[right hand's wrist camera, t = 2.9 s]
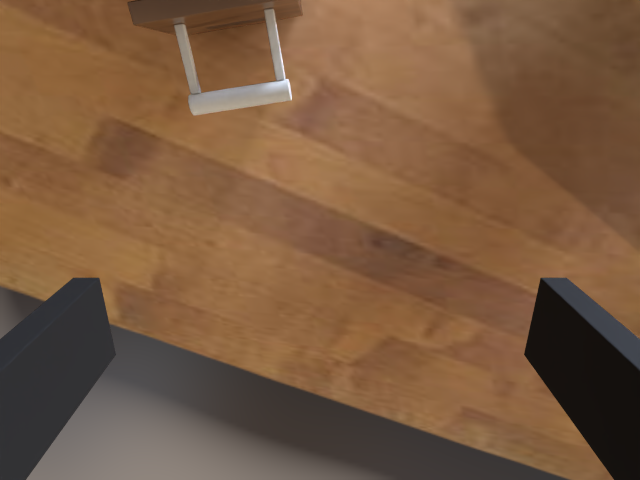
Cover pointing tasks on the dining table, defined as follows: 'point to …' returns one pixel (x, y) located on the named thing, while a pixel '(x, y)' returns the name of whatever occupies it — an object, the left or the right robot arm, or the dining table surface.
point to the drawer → (215, 14)
